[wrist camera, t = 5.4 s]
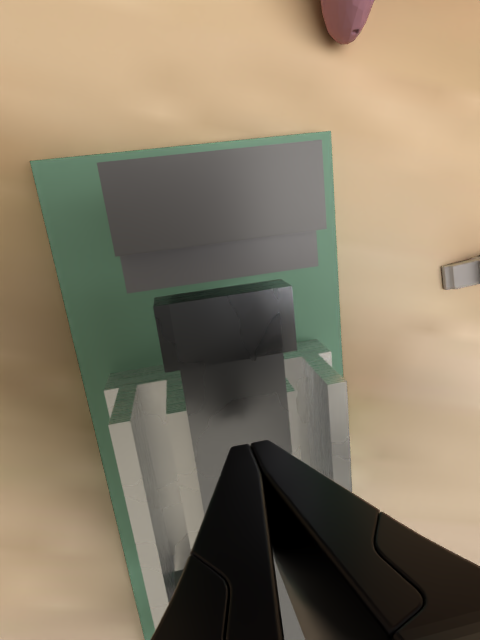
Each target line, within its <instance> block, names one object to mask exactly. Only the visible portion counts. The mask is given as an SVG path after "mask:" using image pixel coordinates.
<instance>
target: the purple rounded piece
mask: <svg viewBox="0 0 480 640" xmlns="http://www.w3.org/2000/svg"><path fill="white" fill-rule="evenodd" d="M373 2H374V0H321V7H322V14H323V18H324V21H325V25H326V28H327V31H328V33H329V34H330V36H331V37H332V38H333V39H334V40H335V41H337V42H338V43H340V44H348V43H350V42H352V41H354V40H355V38H356V37H357V36H358V35H359V33H360V32H361V30H362V28H363V26H364V25H365V23H366V21H367V18H368V15H369V13H370V10H371V7H372V5H373Z"/></svg>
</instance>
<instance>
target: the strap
mask: <svg viewBox="0 0 480 640" xmlns="http://www.w3.org/2000/svg"><path fill="white" fill-rule="evenodd" d="M153 309H154V315H155V320H156V326H157V332H158V337H159V343H160V348H161V354H162V359H163V365H164V370H165V373H167V372H173V371H179V370H180V374H181V379H182V385H183V391H184V397H185V403H186V409H187V415H188V421H189V427H190V433H191V439H192V445H193V451H194V457H195V463H196V469H197V475H198V481H199V486H200V492H201V498H202V504H203V510H204V516H205V513H206V510H207V508H208V505H209V502H210V500H211V497H212V495H213V492H214V489H215V487H216V484H217V482H218V479H219V476H220V474H221V471H222V469H223V466H224V463H225V461H226V458H227V455H228V453H229V450H230V448H231V447H233V446H237V445H243V444H249V445H251V443H253V442H258V441H263V440H269V441H271V442H273V443H274V444H276V445H277V446H279V447H281V448H282V449H284V450H285V451H287V452H289V453H290V454H292V444H291V433H290V422H289V411H288V400H287V388H286V377H285V366H284V355H283V353H285V352H291V351H297V341H296V328H295V315H294V302H293V290H292V286H291V285H290V284H288V283H287V282H285V281H284V280H282V279H276V280H270V281H263V282H256V283H249V284H242V285H235V286H229V287H222V288H215V289H208V290H201V291H194V292H187V293H181V294H174V295H167V296H160V297H155V298H154V304H153ZM273 557H274V556H273ZM274 565H275V572H276V580H277V587H278V595H279V602H280V610H281V617H282V625H283V632H284V640H305V638H304V635H303V633H302V630H301V627H300V625H299V622H298V619H297V617H296V614H295V612H294V609H293V606H292V604H291V601H290V599H289V596H288V593H287V591H286V588H285V585H284V583H283V580H282V578H281V575H280V572H279V570H278V567H277V565H276V562H275V559H274Z"/></svg>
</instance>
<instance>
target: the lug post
mask: <svg viewBox="0 0 480 640" xmlns="http://www.w3.org/2000/svg"><path fill="white" fill-rule="evenodd" d="M97 167H98V172H99V177H100V183H101V188H102V193H103V198H104V203H105V208H106V213H107V218H108V223H109V228H110V233H111V238H112V243H113V248H114V253H115V257H117V256H120V260H121V265H122V271H123V276H124V281H125V286H126V291H127V294H128V293H135V292H142V291H149V290H156V289H163V288H169V287H176V286H183V285H190V284H197V283H204V282H211V281H218V280H225V279H232V278H239V277H246V276H253V275H260V274H267V273H274V272H281V271H288V270H295V269H302V268H309V267H316V266H318V250H317V234H316V230H322V229H327V224H326V207H325V189H324V171H323V153H322V140H313V141H303V142H293V143H283V144H274V145H264V146H254V147H244V148H234V149H225V150H215V151H205V152H195V153H186V154H176V155H166V156H156V157H147V158H137V159H127V160H117V161H107V162H98V163H97Z"/></svg>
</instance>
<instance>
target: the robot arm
mask: <svg viewBox="0 0 480 640" xmlns="http://www.w3.org/2000/svg"><path fill="white" fill-rule="evenodd" d="M273 556H274V557H273ZM274 559H275V562H276V565H277V567H278V570H279V572H280V575H281V578H282V580H283V583H284V585H285V588H286V591H287V593H288V596H289V599H290V601H291V604H292V606H293V609H294V612H295V614H296V617H297V619H298V622H299V625H300V627H301V630H302V633H303V635H304V638H305V640H480V566H478V565H476V564H474V563H472V562H471V561H469V560H467V559H465V558H463V557H461V556H459V555H457V554H455V553H453V552H451V551H449V550H447V549H446V548H444V547H442V546H440V545H438V544H436V543H434V542H433V541H431V540H429V539H427V538H425V537H423V536H422V535H420V534H418V533H417V532H415V531H413V530H412V529H410V528H408V527H407V526H405V525H403V524H402V523H400V522H398V521H397V520H395V519H393V518H392V517H390V516H389V515H387V514H385V513H384V512H380V510H379V509H377V508H376V507H374V506H373V505H371V504H369V503H368V502H366V501H365V500H363V499H361V498H360V497H358V496H357V495H355V494H354V493H352V492H350V491H349V490H347V489H346V488H344V487H342V486H341V485H339V484H338V483H336V482H334V481H333V480H331V479H330V478H328V477H327V476H325V475H323V474H322V473H320V472H319V471H317V470H315V469H314V468H312V467H311V466H309V465H308V464H306V463H304V462H303V461H301V460H300V459H298V458H296V457H295V456H293V455H292V454H290V453H289V452H287V451H285V450H284V449H282V448H281V447H279V446H277V445H276V444H274V443H273V442H271V441H269V440H263V441H258V442H253V443H251V445H249V444H243V445H237V446H233V447H231V448H230V450H229V453H228V455H227V458H226V461H225V463H224V466H223V469H222V471H221V474H220V476H219V479H218V482H217V484H216V487H215V489H214V492H213V495H212V497H211V500H210V502H209V505H208V508H207V510H206V513H205V516H204V518H203V521H202V523H201V526H200V529H199V531H198V534H197V536H196V539H195V542H194V544H193V547H192V549H191V552H190V556H189V557H188V559H187V562H186V565H185V567H184V570H183V572H182V575H181V577H180V580H179V582H178V584H177V587H176V589H175V591H174V594H173V596H172V598H171V600H170V602H169V604H168V606H167V608H166V610H165V612H164V614H163V616H162V618H161V620H160V622H159V624H158V626H157V628H156V630H155V632H154V634H153V636H152V637H151V639H150V640H284V632H283V625H282V617H281V610H280V602H279V595H278V587H277V580H276V572H275V565H274Z"/></svg>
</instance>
